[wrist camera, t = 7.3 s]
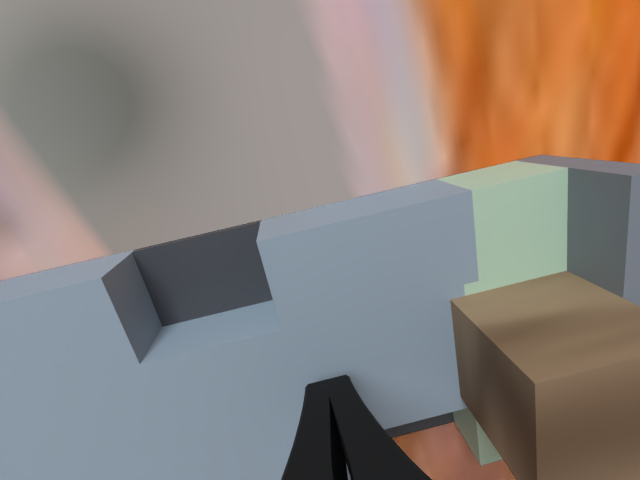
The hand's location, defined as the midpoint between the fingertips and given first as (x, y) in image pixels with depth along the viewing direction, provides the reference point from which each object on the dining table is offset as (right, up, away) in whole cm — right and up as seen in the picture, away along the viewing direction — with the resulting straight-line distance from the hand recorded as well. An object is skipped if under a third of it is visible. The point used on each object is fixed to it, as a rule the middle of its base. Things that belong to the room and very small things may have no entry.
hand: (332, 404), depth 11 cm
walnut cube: (+6, +2, +1) cm, 7 cm away
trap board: (-3, 0, +3) cm, 5 cm away
